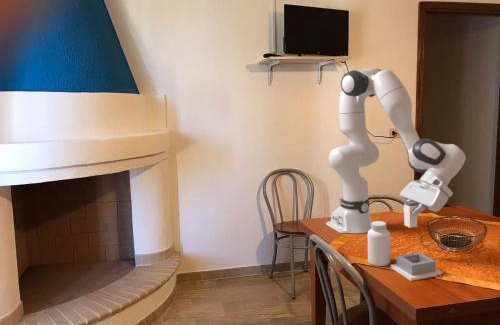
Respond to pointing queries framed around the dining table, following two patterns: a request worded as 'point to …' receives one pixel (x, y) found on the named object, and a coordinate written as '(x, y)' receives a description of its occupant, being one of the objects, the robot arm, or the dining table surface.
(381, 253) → the pill bottle
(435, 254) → the dining table surface
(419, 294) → the dining table surface
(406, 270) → the socket
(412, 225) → the plug
